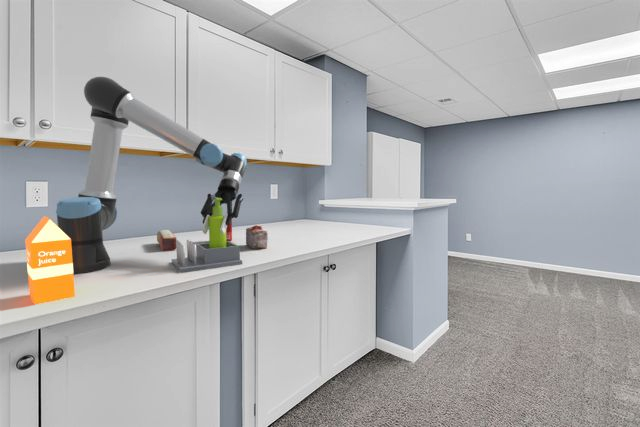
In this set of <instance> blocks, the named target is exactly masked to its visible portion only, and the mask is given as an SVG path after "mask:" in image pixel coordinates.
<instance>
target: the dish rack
mask: <svg viewBox="0 0 640 427" xmlns="http://www.w3.org/2000/svg"><path fill="white" fill-rule="evenodd" d="M185 247H186V248H185ZM240 248H241V247H240V245H238V244H237V243H235V242H232V241H226V247H221V248H212V249H209V242H205V243H194V242H192V241H191V240H190V239H187V240H186V246H185V244H183V243H181V241H179V240H177V241H176V249H175V250H176V258H172V259H171V264H172V265H173V266H174V267H175V269H176V270H177V271H178V272H179V273H180V274H182V273H183V274H184V273H191V272H198V271H204V270H210V269H218V268H224V267H232V266H239V265H243V260H242V259H241V257H240V256H241V252H240V250H241V249H240ZM186 255H187V256H186Z"/></svg>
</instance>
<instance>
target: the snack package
mask: <svg viewBox="0 0 640 427" xmlns="http://www.w3.org/2000/svg"><path fill="white" fill-rule="evenodd" d="M156 241H157V243H158V244H159V247H160V248H161V250H162V251H163V252H170V251H171V252H172V251H176V250H177V249H176V241H178V238H177V237H176V236H175V234H173V232H172V230H170V229H162V230H159V231H157V234H156Z"/></svg>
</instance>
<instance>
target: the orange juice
mask: <svg viewBox="0 0 640 427" xmlns="http://www.w3.org/2000/svg"><path fill="white" fill-rule="evenodd" d="M24 242H25V253H26V268H27V276H28V277H27V278H28V290H29V291H28V292H29V297H30V299H31V301H32V300H33V301H32V303H33V304H34V305H35V304H38V305H40V304H39V303H43V304H45V303H44V302H47V303H51V302H50V301H52V302H56V301H55V300H57V301H61V300H60V299H62V300H65V299H64V298H66V299H70V297H71V298H75V297H76V296H75V294H76V293H75V280H74V279H75V278H74V274H73V262H72V247H71V239H70V238H69V237H68V236H67V235H66V234H65V233H64V232H63V231H62V230H61V229H60V228H59V227H58V224H57V223H55V222H54V221H53V220H52V219H50V218H49V217H47V216H43V217H42V218H41V219H40V221H39V222H38V223H37V225H35V227H34V228H33V229H32V231H31V232H30V233H29V234H28V235H27V237H26V238H25V239H24ZM74 296H75V297H74Z"/></svg>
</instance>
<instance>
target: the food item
mask: <svg viewBox="0 0 640 427" xmlns="http://www.w3.org/2000/svg"><path fill="white" fill-rule="evenodd" d="M268 238H269V237H268V231H267V230H264V229H263V227H262V225H257V224H256V225H253V226H250V227H247V228H246V229H245V245H246V246H248V248H250V249H253V250H264V249H265V250H266V249H267V247H268V240H269V239H268Z"/></svg>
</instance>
